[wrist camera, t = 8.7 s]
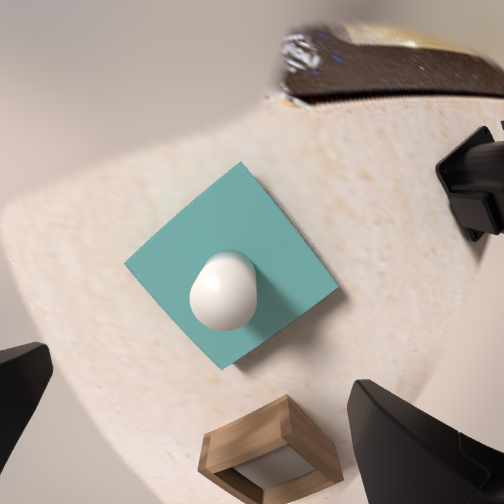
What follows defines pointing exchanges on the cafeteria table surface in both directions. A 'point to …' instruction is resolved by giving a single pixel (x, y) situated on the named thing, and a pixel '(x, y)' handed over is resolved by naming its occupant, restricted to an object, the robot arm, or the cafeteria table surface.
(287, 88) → the cafeteria table surface
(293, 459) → the box
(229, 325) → the lid
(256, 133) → the cafeteria table surface
